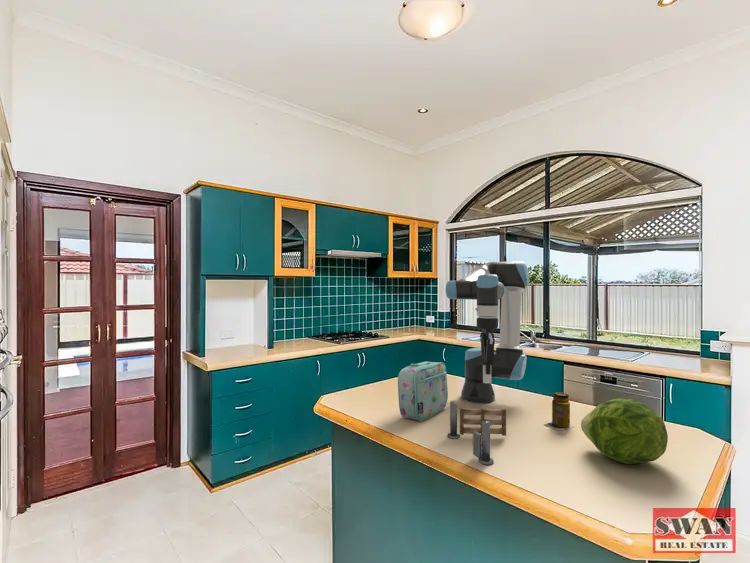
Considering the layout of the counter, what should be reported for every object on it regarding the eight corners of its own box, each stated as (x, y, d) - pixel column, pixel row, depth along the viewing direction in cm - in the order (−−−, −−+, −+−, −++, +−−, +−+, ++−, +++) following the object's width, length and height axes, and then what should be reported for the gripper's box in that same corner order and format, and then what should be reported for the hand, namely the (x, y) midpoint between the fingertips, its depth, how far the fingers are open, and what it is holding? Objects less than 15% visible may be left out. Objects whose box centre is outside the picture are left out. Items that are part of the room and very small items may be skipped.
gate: (460, 434, 137) (460, 408, 137) (459, 433, 138) (459, 407, 138) (506, 435, 136) (506, 409, 136) (505, 434, 137) (505, 408, 137)
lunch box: (417, 426, 147) (417, 369, 147) (395, 420, 154) (395, 365, 154) (450, 408, 169) (450, 358, 169) (429, 403, 175) (429, 355, 175)
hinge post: (456, 433, 140) (456, 400, 140) (462, 438, 136) (462, 403, 136) (445, 435, 139) (445, 401, 139) (450, 440, 135) (450, 404, 135)
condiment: (574, 426, 147) (574, 394, 147) (561, 431, 143) (561, 398, 143) (556, 421, 153) (556, 390, 153) (543, 425, 149) (543, 393, 149)
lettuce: (599, 441, 135) (587, 389, 136) (681, 455, 117) (668, 395, 117) (572, 465, 124) (560, 407, 124) (659, 485, 105) (644, 417, 105)
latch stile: (485, 455, 122) (485, 416, 122) (496, 464, 117) (496, 423, 117) (472, 457, 121) (472, 418, 121) (483, 466, 115) (483, 425, 115)
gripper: (473, 315, 149) (473, 378, 149) (480, 318, 136) (480, 387, 136) (493, 316, 149) (493, 378, 149) (502, 318, 136) (502, 387, 136)
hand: (487, 382), depth 142 cm, fingers closed
